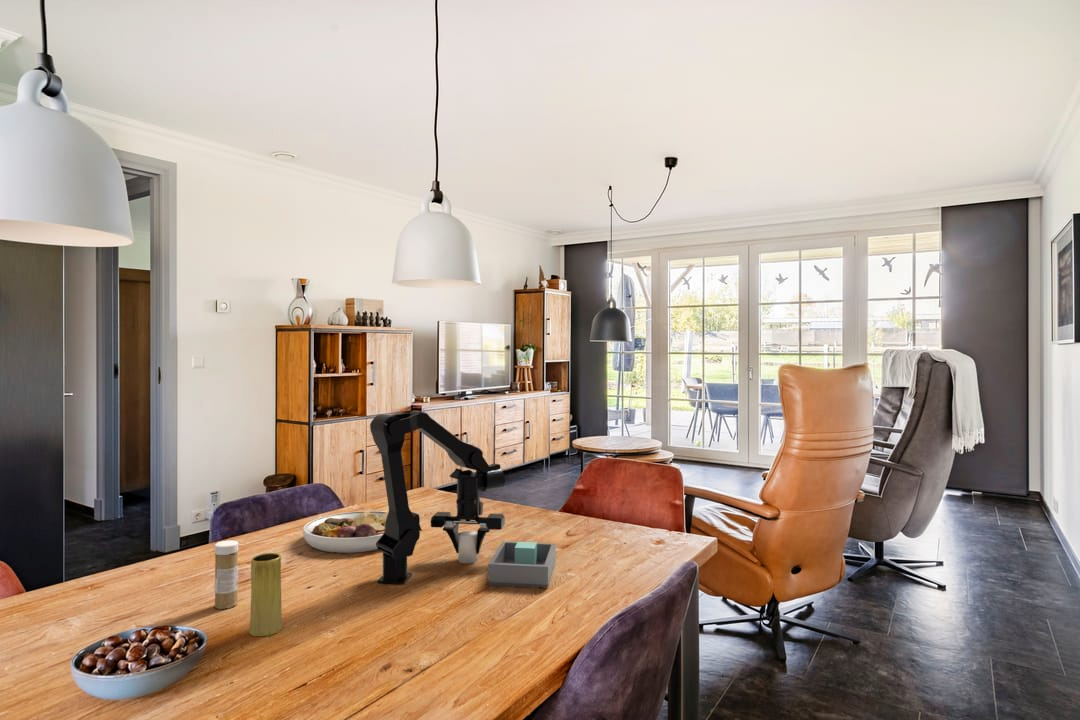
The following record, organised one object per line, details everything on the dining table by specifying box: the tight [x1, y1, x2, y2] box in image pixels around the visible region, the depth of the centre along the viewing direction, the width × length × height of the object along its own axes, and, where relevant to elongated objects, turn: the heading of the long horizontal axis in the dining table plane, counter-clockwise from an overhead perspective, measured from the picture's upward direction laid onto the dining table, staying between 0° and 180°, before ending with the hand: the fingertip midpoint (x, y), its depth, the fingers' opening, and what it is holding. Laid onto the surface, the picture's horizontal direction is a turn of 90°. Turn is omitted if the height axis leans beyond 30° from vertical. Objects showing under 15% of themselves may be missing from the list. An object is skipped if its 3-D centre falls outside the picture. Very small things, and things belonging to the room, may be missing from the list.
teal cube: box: [515, 541, 538, 565], centre depth 157 cm, size 5×5×5 cm
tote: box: [487, 540, 557, 588], centre depth 153 cm, size 18×14×5 cm
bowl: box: [302, 510, 389, 554], centre depth 181 cm, size 30×30×8 cm
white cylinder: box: [457, 530, 478, 564], centre depth 163 cm, size 5×5×7 cm
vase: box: [248, 552, 284, 637], centre depth 120 cm, size 6×6×14 cm
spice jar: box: [213, 539, 239, 610], centre depth 132 cm, size 5×5×14 cm
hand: (467, 553), depth 163 cm, fingers closed on white cylinder, 5 cm apart
